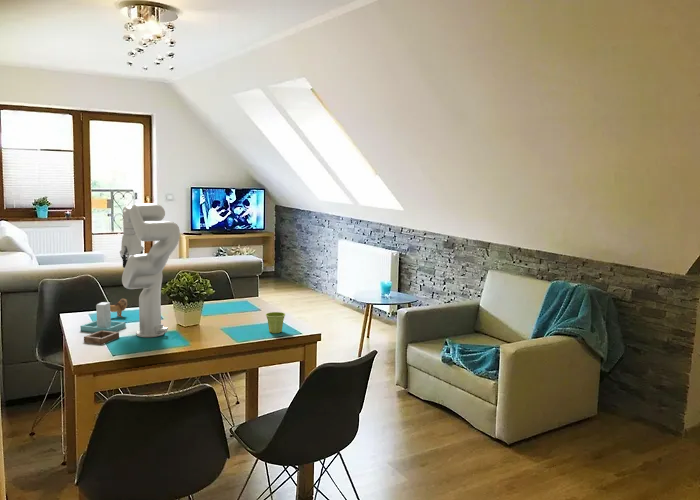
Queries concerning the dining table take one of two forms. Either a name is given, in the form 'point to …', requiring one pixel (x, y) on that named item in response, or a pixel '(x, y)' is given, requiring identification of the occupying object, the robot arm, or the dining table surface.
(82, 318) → the dining table surface
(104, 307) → the skincare box
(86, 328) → the tray
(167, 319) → the dining table surface
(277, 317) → the plant pot
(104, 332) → the holder collar
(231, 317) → the dining table surface
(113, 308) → the lion figurine
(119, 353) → the dining table surface
